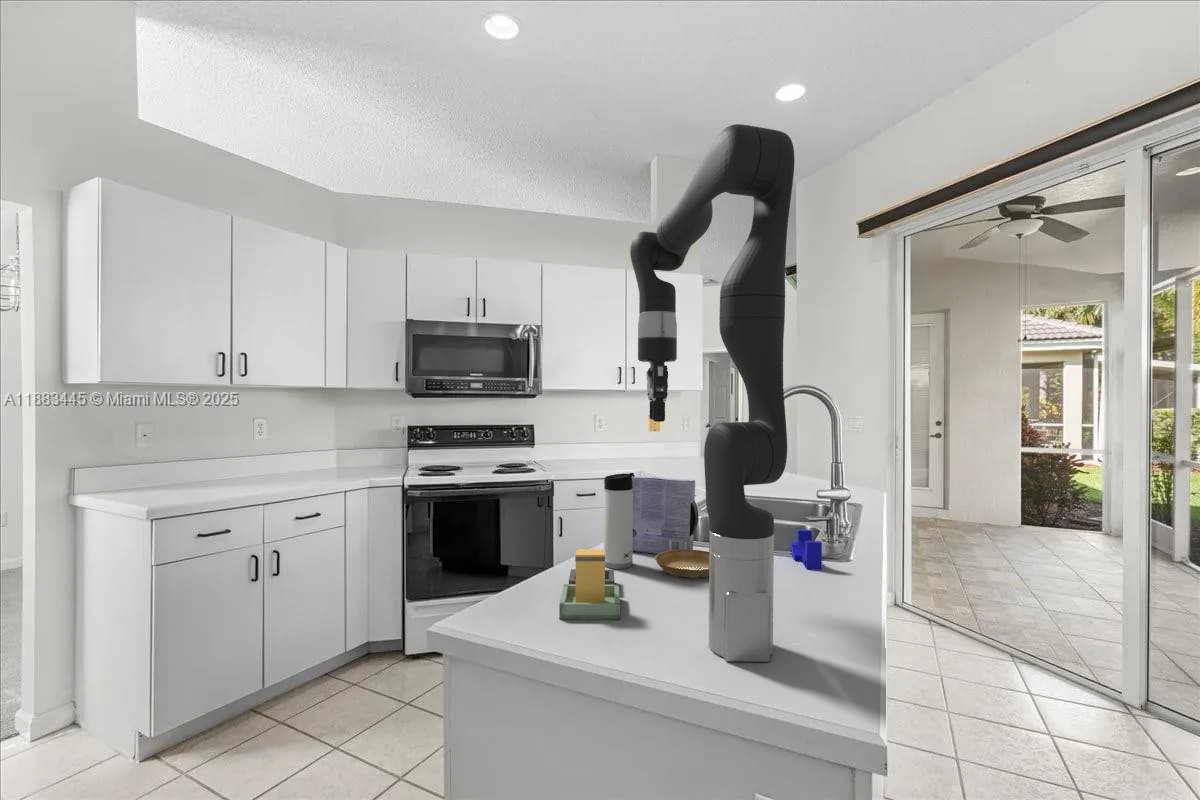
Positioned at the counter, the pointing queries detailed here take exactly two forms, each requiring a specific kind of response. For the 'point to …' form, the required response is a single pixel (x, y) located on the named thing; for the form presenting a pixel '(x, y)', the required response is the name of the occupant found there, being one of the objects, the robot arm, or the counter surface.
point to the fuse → (590, 576)
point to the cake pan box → (663, 514)
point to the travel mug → (618, 521)
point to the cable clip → (807, 550)
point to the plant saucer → (684, 562)
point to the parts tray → (589, 605)
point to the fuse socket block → (608, 577)
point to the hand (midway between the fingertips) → (656, 420)
